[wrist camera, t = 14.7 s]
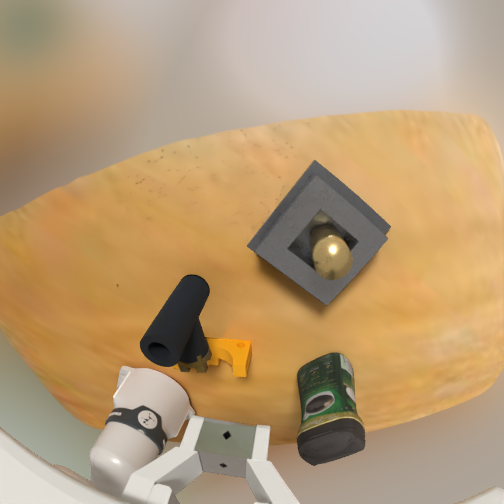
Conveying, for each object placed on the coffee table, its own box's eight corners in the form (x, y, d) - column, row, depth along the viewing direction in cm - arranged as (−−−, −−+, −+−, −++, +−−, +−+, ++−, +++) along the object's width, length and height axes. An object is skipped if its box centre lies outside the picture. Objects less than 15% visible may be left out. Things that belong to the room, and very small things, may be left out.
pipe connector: (222, 332, 47) (201, 400, 33) (193, 333, 47) (165, 397, 34) (206, 272, 42) (172, 335, 29) (175, 275, 43) (132, 334, 29)
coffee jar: (312, 391, 48) (313, 474, 31) (291, 367, 47) (285, 455, 29) (358, 371, 45) (374, 454, 28) (340, 344, 44) (354, 433, 26)
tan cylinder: (327, 261, 39) (335, 287, 31) (302, 243, 38) (305, 264, 31) (347, 238, 37) (360, 258, 30) (323, 218, 37) (331, 234, 29)
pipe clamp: (187, 353, 49) (175, 375, 43) (184, 334, 48) (170, 356, 42) (252, 359, 47) (246, 384, 41) (251, 340, 46) (245, 365, 40)
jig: (322, 300, 42) (324, 316, 37) (247, 244, 40) (241, 256, 36) (389, 225, 36) (400, 234, 32) (314, 159, 35) (317, 160, 31)
